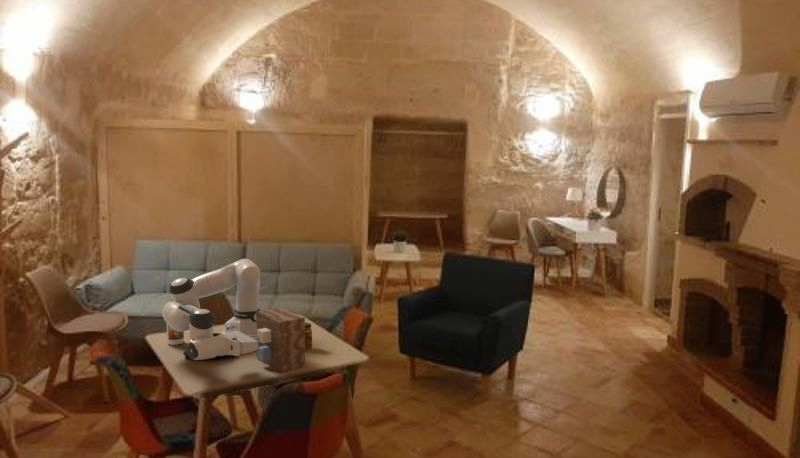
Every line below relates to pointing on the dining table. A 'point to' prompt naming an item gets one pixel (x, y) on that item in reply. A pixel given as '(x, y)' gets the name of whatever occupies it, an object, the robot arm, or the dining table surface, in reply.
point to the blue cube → (264, 353)
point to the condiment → (308, 337)
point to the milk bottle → (174, 336)
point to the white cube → (264, 335)
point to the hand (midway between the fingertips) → (258, 337)
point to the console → (283, 338)
